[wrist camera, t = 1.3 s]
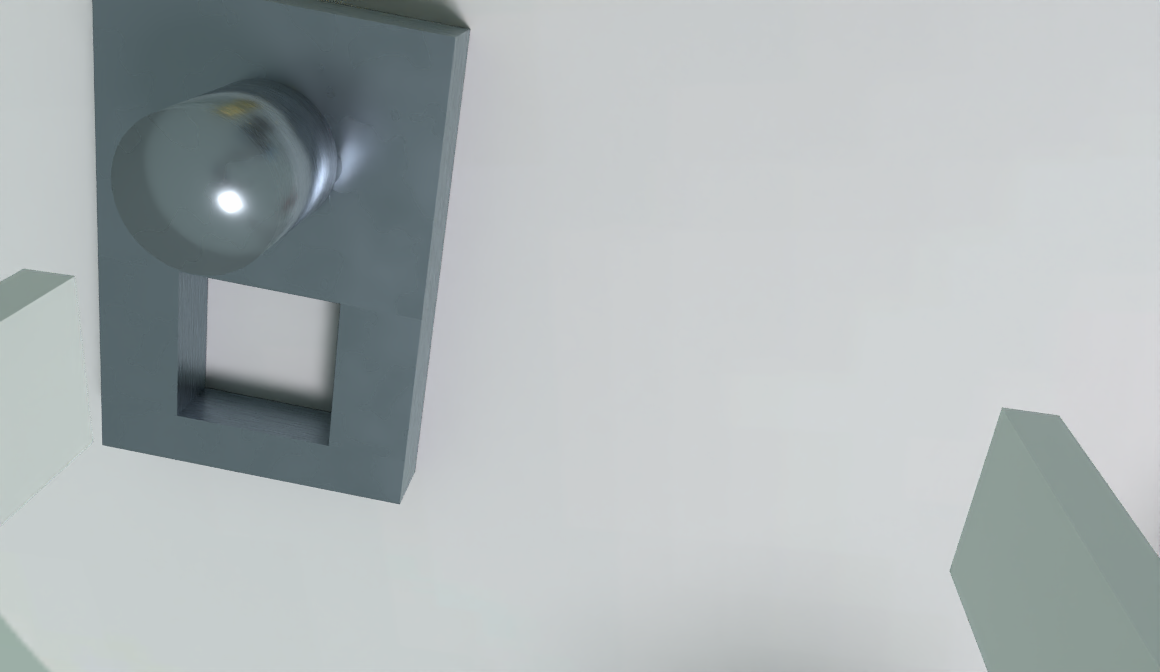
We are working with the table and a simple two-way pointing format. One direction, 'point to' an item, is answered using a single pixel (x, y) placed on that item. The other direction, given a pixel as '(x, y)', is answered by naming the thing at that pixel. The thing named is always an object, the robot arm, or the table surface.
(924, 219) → the table surface
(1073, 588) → the robot arm
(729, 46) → the table surface
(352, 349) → the gray peg plate
